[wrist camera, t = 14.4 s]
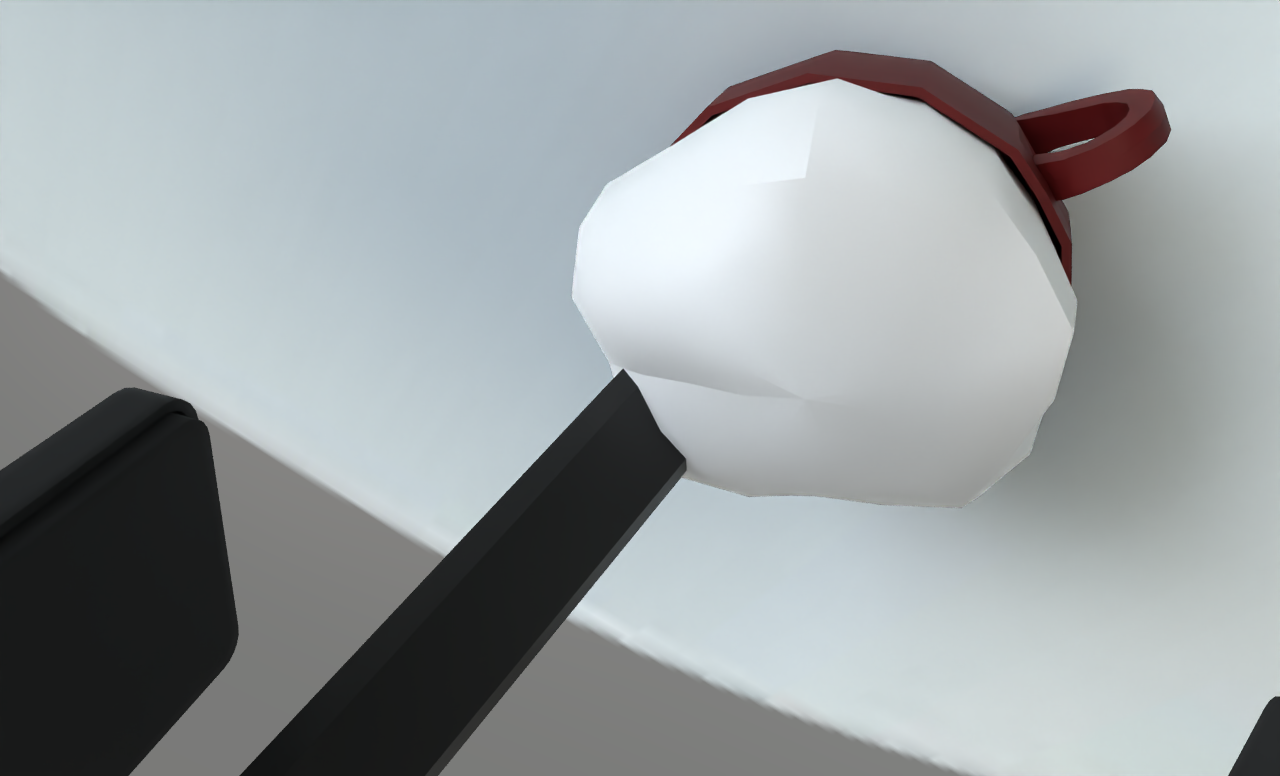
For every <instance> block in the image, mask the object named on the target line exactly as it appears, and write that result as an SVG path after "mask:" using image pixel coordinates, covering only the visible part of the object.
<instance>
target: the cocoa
mask: <svg viewBox="0 0 1280 776" xmlns="http://www.w3.org/2000/svg"><path fill="white" fill-rule="evenodd" d="M1170 131H1171V128H1170V125H1169V121H1168V118H1167V115H1166V112H1165V109H1164V106H1163V104H1162V102H1161V101H1160V100H1159V98H1158V97H1157V96H1156V95H1155V93H1154V92H1153V91H1152V90H1144V89H1127V90H1122V91H1116V92H1111V93H1105V94H1100V95H1096V96H1092V97H1088V98H1083V99H1079V100H1075V101H1071V102H1067V103H1064V104H1060V105H1057V106H1053V107H1050V108H1046V109H1043V110H1039V111H1035V112H1031V113H1027V114H1024V115H1021V116H1018V117H1015V118H1014V116H1013V114H1012V113H1010V112H1009V111H1007V110H1006V109H1004V108H1003V107H1001V106H1000V105H998V104H997V103H995V102H994V101H992V100H990V99H989V98H987V97H986V96H984V95H983V94H981V93H980V92H978V91H977V90H975V89H973V88H972V87H970V86H969V85H967V84H966V83H964V82H963V81H961V80H960V79H958V78H956V77H955V76H953V75H952V74H950V73H949V72H947V71H946V70H944V69H943V68H941V67H939V66H938V65H936V64H935V63H933V62H932V61H926V60H918V59H910V58H901V57H893V56H884V55H876V54H867V53H859V52H851V51H840V50H834V51H831V52H828V53H825V54H822V55H819V56H816V57H813V58H810V59H808V60H805V61H802V62H799V63H796V64H793V65H790V66H787V67H785V68H782V69H779V70H776V71H773V72H770V73H767V74H764V75H762V76H759V77H756V78H753V79H750V80H747V81H744V82H742V83H739V84H736V85H733V86H730V87H728V88H727V89H726V90H725V91H724V92H723V93H722V94H721V95H719V96H718V97H717V98H716V99H715V100H714V101H713V102H712V103H711V104H710V105H709V106H708V107H707V108H706V109H705V110H704V111H703V112H702V113H701V114H700V115H699V116H698V117H697V118H696V119H695V120H694V121H693V122H692V124H691V125H690V126H689V127H688V128H687V129H686V130H685V131H684V132H683V133H682V134H681V135H680V136H679V137H678V138H677V139H676V140H675V141H674V143H673V144H672V145H671V146H670V147H668V148H667V149H665V150H663V151H662V152H660V153H658V154H657V155H655V156H653V157H652V158H650V159H648V160H647V161H645V162H643V163H641V164H640V165H638V166H636V167H635V168H633V169H631V170H630V171H628V172H626V173H625V174H623V175H621V176H620V177H618V178H616V179H614V180H613V181H611V182H609V183H608V184H606V186H605V187H604V189H603V190H602V192H601V194H600V195H599V197H598V198H597V200H596V202H595V203H594V205H593V206H592V208H591V209H590V211H589V213H588V214H587V216H586V217H585V219H584V221H583V222H582V224H581V225H580V227H579V234H578V243H577V251H576V260H575V269H574V277H573V286H572V294H571V298H572V299H573V301H574V303H575V304H576V306H577V308H578V310H579V311H580V313H581V315H582V317H583V318H584V320H585V322H586V324H587V325H588V327H589V329H590V330H591V332H592V334H593V336H594V337H595V339H596V341H597V343H598V344H599V346H600V348H601V350H602V351H603V353H604V355H605V356H606V358H607V360H608V362H609V363H610V367H611V371H612V375H613V379H612V381H611V382H610V383H609V384H608V385H607V386H606V387H605V388H604V389H603V390H602V391H601V392H600V393H599V394H598V395H597V396H596V398H595V399H594V400H593V401H592V402H591V403H590V404H589V405H588V406H587V407H586V408H585V409H584V410H583V411H582V412H581V413H580V415H579V416H578V417H577V418H576V419H575V420H574V421H573V422H572V423H571V424H570V425H569V426H568V427H567V428H566V429H565V430H564V432H563V433H562V434H561V435H560V436H559V437H558V438H557V439H556V440H555V441H554V442H553V443H552V444H551V445H550V446H549V447H548V449H547V450H546V451H545V452H544V453H543V454H542V455H541V456H540V457H539V458H538V459H537V460H536V461H535V462H534V463H533V464H532V466H531V467H530V468H529V469H528V470H527V471H526V472H525V473H524V474H523V475H522V476H521V477H520V478H519V479H518V480H517V481H516V483H515V484H514V485H513V486H512V487H511V488H510V489H509V490H508V491H507V492H506V493H505V494H504V495H503V496H502V497H501V498H500V500H499V501H498V502H497V503H496V504H495V505H494V506H493V507H492V508H491V509H490V510H489V511H488V512H487V513H486V514H485V515H484V517H483V518H482V519H481V520H480V521H479V522H478V523H477V524H476V525H475V526H474V527H473V528H472V529H471V530H470V531H469V532H468V534H467V535H466V536H465V537H464V538H463V539H462V540H461V541H460V542H459V543H458V544H457V545H456V546H455V547H454V548H453V549H452V551H451V552H450V553H449V554H448V555H447V556H446V557H445V558H444V559H443V560H442V561H441V562H440V563H439V565H437V567H436V568H435V569H434V570H433V571H432V572H431V573H430V574H429V575H428V576H427V577H426V578H425V579H424V580H423V581H422V582H421V583H420V585H419V586H418V587H417V588H416V589H415V590H414V591H413V592H412V593H411V594H410V595H409V596H408V597H407V599H405V600H404V602H403V603H402V604H401V605H400V606H399V607H398V608H397V609H396V610H395V611H394V612H393V613H392V614H391V615H390V616H389V618H388V619H387V620H386V621H385V622H384V623H383V624H382V625H381V626H380V627H379V628H378V629H377V630H376V631H375V632H374V633H373V634H372V636H371V637H370V638H369V639H368V640H367V641H366V642H365V643H364V644H363V645H362V646H361V647H360V648H359V649H358V651H356V653H355V654H354V655H353V656H352V657H351V658H350V659H349V660H348V661H347V662H346V663H345V664H344V665H343V666H342V667H341V668H340V670H339V671H338V672H337V673H336V674H335V675H334V676H333V677H332V678H331V679H330V680H329V681H328V682H327V683H326V684H325V686H324V687H323V688H322V689H321V690H320V691H319V692H318V693H317V694H316V695H315V696H314V697H313V698H312V699H311V700H310V701H309V703H308V704H307V705H306V706H305V707H304V708H303V709H302V710H301V711H300V712H299V713H298V714H297V715H296V716H295V717H294V718H293V720H292V721H291V722H290V723H289V724H288V725H287V726H286V727H285V728H284V729H283V730H282V731H281V732H280V733H279V734H278V735H277V737H276V738H275V739H274V740H273V741H272V742H271V743H270V744H269V745H268V746H267V747H266V748H265V749H264V750H263V751H262V752H261V754H260V755H259V756H258V757H257V758H256V759H255V760H254V761H253V762H252V763H251V764H250V765H249V766H248V767H247V769H246V770H244V772H243V773H242V774H241V775H240V776H438V775H439V774H440V772H441V771H442V770H443V769H444V768H445V766H446V765H447V764H448V763H449V762H450V760H451V759H452V758H453V757H454V755H455V754H456V753H457V752H458V751H459V749H460V748H461V747H462V745H463V744H464V743H465V742H466V741H467V739H468V738H469V737H470V736H471V734H472V733H473V732H474V731H475V730H476V728H477V727H478V726H479V725H480V723H481V722H482V721H483V720H484V719H485V717H486V716H487V715H488V714H489V712H490V711H491V710H492V709H493V707H494V706H495V705H496V704H497V703H498V701H499V700H500V699H501V698H502V697H503V695H504V694H505V693H506V692H507V690H508V689H509V688H510V687H511V686H512V684H513V683H514V682H515V681H516V679H517V678H518V677H519V676H520V674H521V673H522V672H523V671H524V669H525V668H526V667H527V666H528V665H529V663H530V662H531V661H532V660H533V658H534V657H535V656H536V655H537V653H538V652H539V651H540V650H541V649H542V647H543V646H544V645H545V644H546V643H547V641H548V640H549V639H550V638H551V636H552V635H553V634H554V633H555V632H556V630H557V629H558V628H559V627H560V625H561V624H562V623H563V622H564V620H565V619H566V618H567V617H568V616H569V614H570V613H571V612H572V611H573V609H574V608H575V607H576V606H577V605H578V603H579V602H580V601H581V600H582V598H583V597H584V596H585V595H586V593H587V592H588V591H589V590H590V589H591V587H592V586H593V585H594V584H595V582H596V581H597V580H598V579H599V578H600V576H601V575H602V574H603V573H604V571H605V570H606V569H607V568H608V566H609V565H610V564H611V563H612V562H613V560H614V559H615V558H616V557H617V555H618V554H619V553H620V552H621V551H622V549H623V548H624V547H625V546H626V544H627V543H628V542H629V541H630V540H631V538H632V537H633V536H634V535H635V533H636V532H637V531H638V530H639V528H640V527H641V526H642V525H643V524H644V522H645V521H646V520H647V519H648V517H649V516H650V515H651V514H652V513H653V511H654V510H655V509H656V508H657V506H658V505H659V504H660V503H661V501H662V500H663V499H664V498H665V497H666V495H667V494H668V493H669V492H670V490H671V489H672V488H673V487H674V486H675V484H676V483H677V482H678V481H679V479H680V478H685V479H688V480H692V481H695V482H699V483H702V484H706V485H709V486H713V487H716V488H720V489H723V490H727V491H730V492H734V493H737V494H741V495H744V496H748V497H760V496H789V495H792V496H819V497H826V498H834V499H842V500H849V501H857V502H864V503H872V504H879V505H896V506H921V507H945V508H962V507H964V506H965V505H967V504H969V503H970V502H972V501H974V500H976V499H977V498H978V497H980V496H981V495H982V494H983V493H984V492H986V491H987V490H988V489H989V488H990V487H992V486H993V485H994V484H995V483H996V482H998V481H999V480H1000V479H1001V478H1002V477H1004V476H1005V475H1006V474H1007V473H1008V472H1010V471H1011V470H1012V469H1013V468H1014V467H1015V466H1017V465H1018V464H1019V463H1020V462H1021V461H1023V460H1024V459H1025V458H1026V457H1027V456H1029V455H1030V454H1031V450H1032V447H1033V444H1034V441H1035V438H1036V435H1037V432H1038V429H1039V426H1040V422H1041V419H1042V416H1043V415H1044V413H1045V412H1046V411H1047V409H1048V408H1049V407H1050V405H1051V404H1052V403H1053V401H1054V400H1055V397H1056V393H1057V390H1058V386H1059V383H1060V379H1061V376H1062V372H1063V369H1064V365H1065V362H1066V358H1067V355H1068V351H1069V348H1070V344H1071V341H1072V337H1073V334H1074V328H1075V319H1076V310H1077V299H1076V296H1075V294H1074V292H1073V289H1072V287H1071V279H1072V240H1071V228H1070V220H1069V212H1068V210H1067V209H1066V207H1065V205H1064V203H1063V202H1062V200H1064V199H1067V198H1070V197H1073V196H1077V195H1080V194H1083V193H1085V192H1087V191H1090V190H1092V189H1094V188H1096V187H1099V186H1101V185H1103V184H1106V183H1108V182H1110V181H1112V180H1114V179H1116V178H1118V177H1120V176H1122V175H1124V174H1126V173H1127V172H1129V171H1131V170H1133V169H1135V168H1136V167H1137V166H1139V165H1140V164H1142V163H1143V162H1144V161H1146V160H1147V159H1149V158H1150V157H1151V156H1152V155H1153V154H1154V153H1155V152H1156V151H1157V150H1158V149H1159V148H1160V147H1162V146H1163V145H1164V144H1165V143H1166V142H1167V139H1168V137H1169V134H1170ZM1092 138H1094V139H1093V140H1091V141H1089V142H1087V143H1084V144H1082V145H1079V146H1076V147H1073V148H1070V149H1067V150H1064V151H1061V152H1054V153H1048V152H1050V151H1052V150H1054V149H1056V148H1059V147H1062V146H1066V145H1069V144H1073V143H1077V142H1081V141H1084V140H1088V139H1092Z"/></svg>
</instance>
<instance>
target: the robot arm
mask: <svg viewBox="0 0 1280 776" xmlns="http://www.w3.org/2000/svg"><path fill="white" fill-rule="evenodd" d="M238 635H239V634H238V621H237V615H236V608H235V601H234V595H233V588H232V582H231V575H230V568H229V562H228V555H227V548H226V541H225V535H224V528H223V522H222V515H221V509H220V501H219V495H218V488H217V482H216V475H215V469H214V461H213V456H212V448H211V442H210V435H209V432H208V428H207V426H206V425H205V424H204V422H202V421H200V420H198V417H197V413H196V410H195V409H194V408H193V407H192V405H191V404H190V403H188V402H186V401H184V400H182V399H178V398H174V397H170V396H166V395H161V394H158V393H154V392H149V391H146V390H142V389H138V388H124V389H122V390H120V391H117V392H116V393H114V394H112V395H111V396H109V397H108V398H106V399H105V400H103V401H102V402H101V403H99V404H98V405H96V406H95V407H93V408H92V409H90V410H89V411H87V412H86V413H84V414H83V415H81V416H80V417H78V418H77V419H75V420H74V421H73V422H71V423H70V424H68V425H67V426H65V427H64V428H62V429H61V430H60V431H58V432H56V433H55V434H53V435H52V436H51V437H49V438H48V439H46V440H45V441H43V442H42V443H40V444H39V445H37V446H36V447H34V448H33V449H31V450H30V451H28V452H27V453H26V454H24V455H23V456H21V457H20V458H19V459H17V460H15V461H14V462H12V463H11V464H9V465H8V466H7V467H5V468H3V469H2V470H1V471H0V776H129V775H130V773H131V772H132V771H133V770H134V769H135V768H136V767H137V765H138V764H139V763H140V762H141V761H142V760H143V759H144V758H145V757H146V755H147V754H148V753H149V752H150V751H151V750H152V749H153V748H154V746H155V745H156V744H157V743H158V742H159V741H160V740H161V739H162V738H163V736H164V735H165V734H166V733H167V732H168V731H169V729H171V727H172V726H173V725H174V724H175V723H176V722H177V721H178V720H179V718H180V717H181V716H182V715H183V714H184V713H185V712H186V711H187V709H188V708H189V707H190V706H191V705H192V704H193V703H194V702H195V700H196V699H197V698H198V697H199V696H200V695H201V694H202V693H203V691H204V690H205V689H206V688H207V687H208V686H209V685H210V683H211V682H212V681H213V680H214V679H215V678H216V677H217V676H218V675H219V674H220V672H221V671H222V670H223V669H224V668H225V666H226V665H227V663H228V662H229V661H230V659H231V657H232V655H233V653H234V650H235V647H236V645H237V640H238ZM1228 776H1280V697H1276V696H1275V697H1274V698H1273V699H1271V700H1270V701H1269V702H1268V704H1267V705H1266V707H1265V708H1264V710H1263V712H1262V714H1261V716H1260V718H1259V719H1258V721H1257V723H1256V725H1255V727H1254V729H1253V731H1252V732H1251V734H1250V736H1249V738H1248V740H1247V742H1246V744H1245V746H1244V747H1243V749H1242V751H1241V753H1240V755H1239V757H1238V759H1237V760H1236V762H1235V764H1234V766H1233V768H1232V770H1231V772H1230V773H1229V775H1228Z"/></svg>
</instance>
